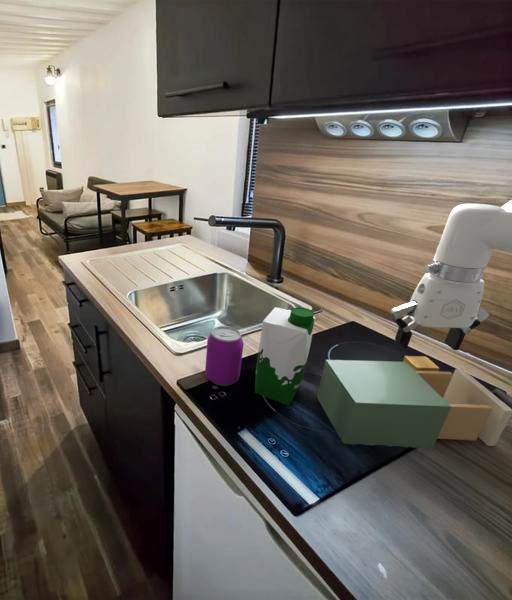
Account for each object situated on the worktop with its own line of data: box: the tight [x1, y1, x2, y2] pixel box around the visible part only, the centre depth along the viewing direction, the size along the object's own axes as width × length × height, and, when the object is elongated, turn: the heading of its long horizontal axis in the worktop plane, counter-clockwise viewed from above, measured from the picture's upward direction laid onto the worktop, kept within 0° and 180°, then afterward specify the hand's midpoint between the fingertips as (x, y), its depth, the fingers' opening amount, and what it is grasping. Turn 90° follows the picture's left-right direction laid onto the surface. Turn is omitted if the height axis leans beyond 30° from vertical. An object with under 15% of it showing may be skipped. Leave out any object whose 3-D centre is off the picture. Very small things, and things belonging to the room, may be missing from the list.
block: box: [402, 355, 441, 371], centre depth 80 cm, size 4×4×4 cm
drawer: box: [416, 368, 512, 447], centre depth 66 cm, size 19×11×8 cm, turn 83°
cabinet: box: [316, 359, 451, 450], centre depth 68 cm, size 15×13×10 cm
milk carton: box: [254, 306, 317, 407], centre depth 75 cm, size 9×9×20 cm
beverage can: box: [204, 325, 245, 387], centre depth 82 cm, size 8×8×12 cm
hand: (425, 345), depth 77 cm, fingers open, 9 cm apart
